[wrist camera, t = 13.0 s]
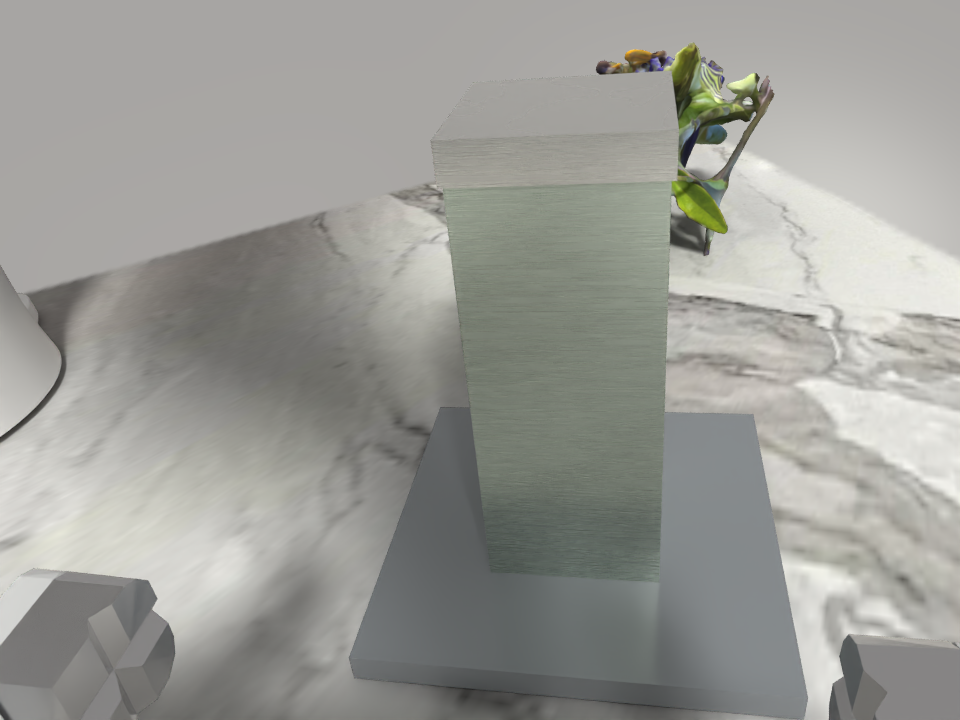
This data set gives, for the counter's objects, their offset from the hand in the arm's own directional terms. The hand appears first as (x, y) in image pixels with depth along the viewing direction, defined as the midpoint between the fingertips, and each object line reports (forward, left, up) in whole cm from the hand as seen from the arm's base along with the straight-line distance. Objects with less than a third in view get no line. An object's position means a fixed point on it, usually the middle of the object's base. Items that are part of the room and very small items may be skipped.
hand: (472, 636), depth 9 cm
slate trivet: (0, +12, -10) cm, 15 cm away
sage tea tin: (0, +12, -9) cm, 15 cm away
